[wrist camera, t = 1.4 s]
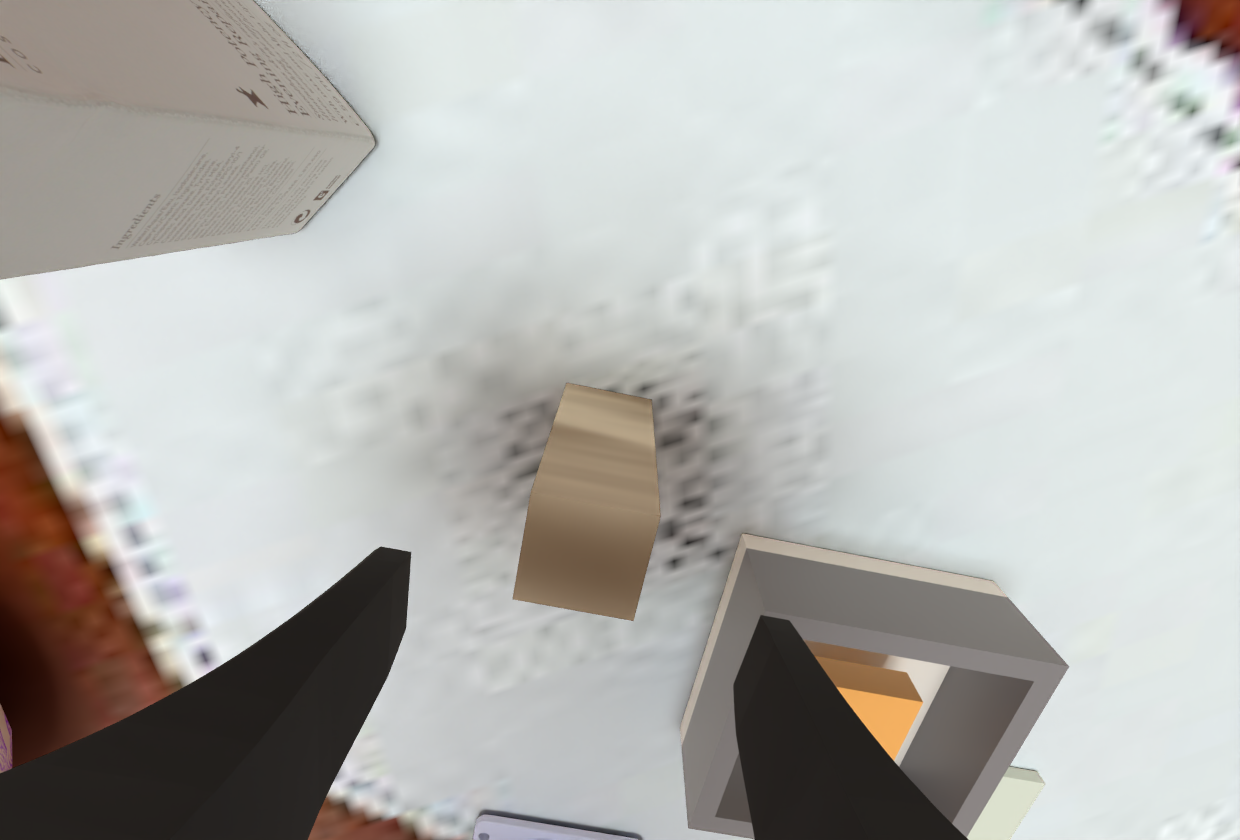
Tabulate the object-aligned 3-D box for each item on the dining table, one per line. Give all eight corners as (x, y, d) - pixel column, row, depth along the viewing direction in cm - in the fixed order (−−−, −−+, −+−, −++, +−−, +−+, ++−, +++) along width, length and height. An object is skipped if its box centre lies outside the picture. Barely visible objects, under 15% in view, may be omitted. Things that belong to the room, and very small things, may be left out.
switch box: (899, 765, 28) (946, 870, 23) (679, 727, 27) (688, 828, 23) (993, 581, 24) (1068, 666, 20) (742, 533, 23) (765, 610, 19)
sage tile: (965, 887, 30) (971, 900, 30) (807, 861, 30) (810, 874, 29) (1037, 771, 28) (1045, 783, 27) (864, 741, 27) (868, 753, 27)
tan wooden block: (633, 475, 23) (633, 621, 15) (552, 459, 23) (512, 599, 15) (651, 399, 22) (660, 516, 14) (566, 382, 22) (530, 491, 14)
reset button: (873, 743, 24) (886, 775, 23) (783, 727, 24) (792, 759, 23) (906, 672, 23) (923, 702, 22) (813, 655, 23) (823, 684, 21)
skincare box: (386, 138, 19) (13, 83, 8) (295, 241, 20) (-144, 326, 9) (216, -42, 17) (-582, -457, 6) (128, 80, 18) (-676, -71, 7)
